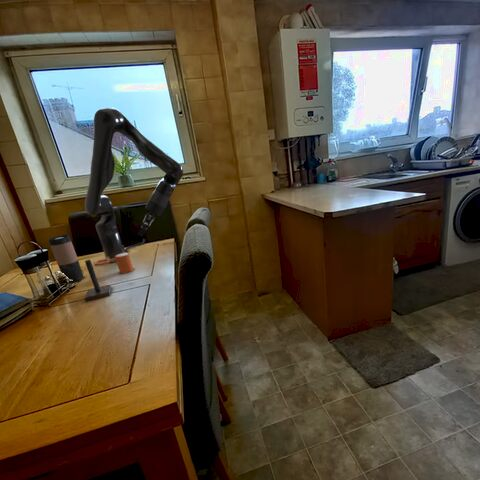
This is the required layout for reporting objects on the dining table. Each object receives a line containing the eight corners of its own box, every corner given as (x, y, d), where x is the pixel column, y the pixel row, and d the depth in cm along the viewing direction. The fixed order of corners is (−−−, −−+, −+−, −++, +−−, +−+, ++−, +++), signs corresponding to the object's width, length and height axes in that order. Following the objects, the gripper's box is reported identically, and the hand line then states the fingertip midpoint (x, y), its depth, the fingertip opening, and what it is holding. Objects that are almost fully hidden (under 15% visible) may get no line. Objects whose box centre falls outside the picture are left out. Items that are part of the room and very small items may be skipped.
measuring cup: (131, 267, 133) (127, 251, 130) (134, 270, 129) (130, 254, 126) (98, 277, 126) (92, 260, 123) (100, 280, 121) (94, 263, 118)
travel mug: (88, 275, 129) (73, 234, 122) (76, 283, 122) (59, 239, 115) (73, 276, 130) (57, 235, 123) (60, 283, 123) (43, 240, 116)
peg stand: (89, 293, 109) (77, 259, 104) (111, 287, 112) (100, 255, 107) (86, 301, 102) (72, 266, 97) (109, 295, 105) (98, 261, 100)
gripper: (150, 198, 131) (134, 228, 132) (148, 199, 118) (130, 232, 119) (165, 206, 134) (149, 235, 135) (165, 208, 121) (147, 240, 122)
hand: (140, 234), depth 127 cm, fingers open, 8 cm apart
